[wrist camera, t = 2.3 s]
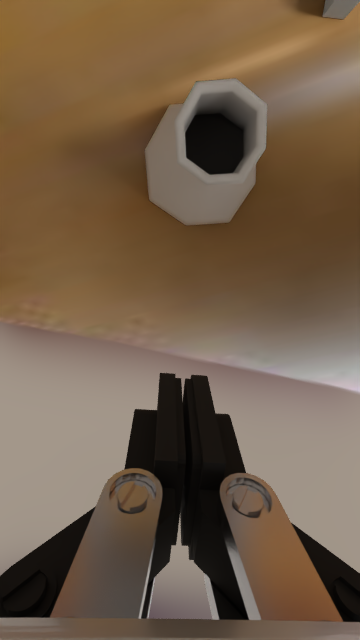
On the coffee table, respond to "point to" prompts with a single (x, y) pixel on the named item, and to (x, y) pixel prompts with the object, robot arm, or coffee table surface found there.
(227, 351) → the coffee table surface
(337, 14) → the blue frame
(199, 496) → the robot arm
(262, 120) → the flask
